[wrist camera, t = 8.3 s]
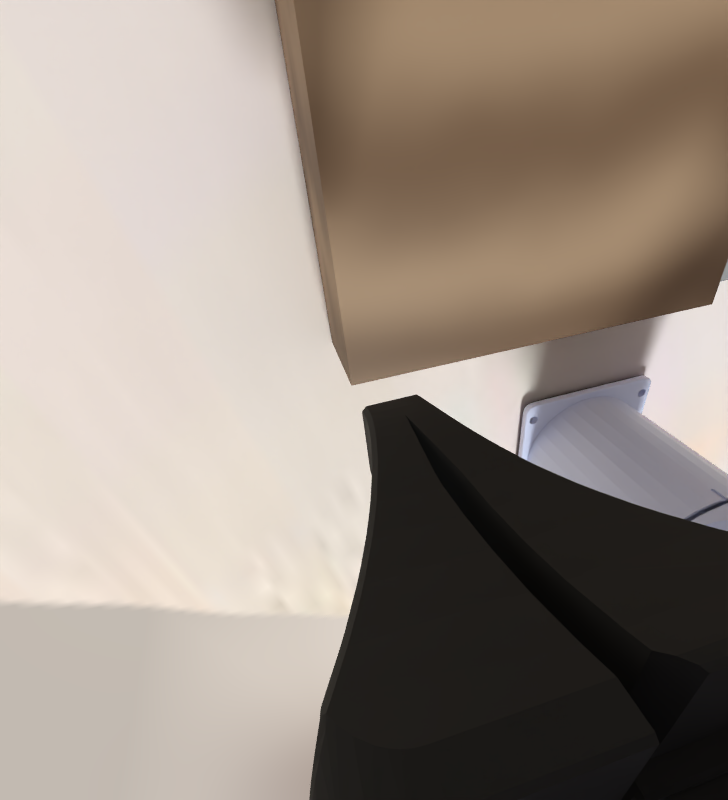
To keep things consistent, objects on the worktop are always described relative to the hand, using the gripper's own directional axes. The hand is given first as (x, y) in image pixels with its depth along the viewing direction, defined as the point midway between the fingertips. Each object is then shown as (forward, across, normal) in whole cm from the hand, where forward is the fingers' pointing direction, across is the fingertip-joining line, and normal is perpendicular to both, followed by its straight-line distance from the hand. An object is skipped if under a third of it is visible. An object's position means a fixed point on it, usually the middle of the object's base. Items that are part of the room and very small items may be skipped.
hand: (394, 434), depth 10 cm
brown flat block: (+10, -8, -5) cm, 14 cm away
